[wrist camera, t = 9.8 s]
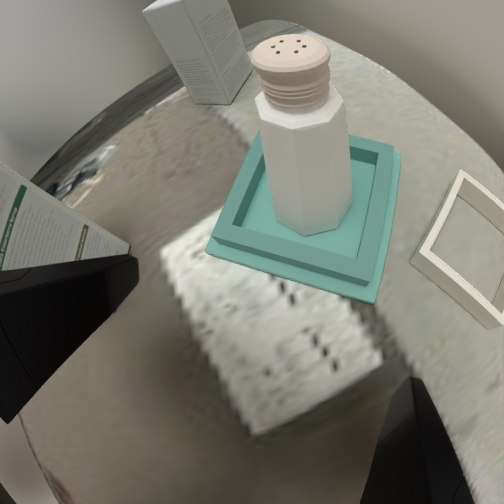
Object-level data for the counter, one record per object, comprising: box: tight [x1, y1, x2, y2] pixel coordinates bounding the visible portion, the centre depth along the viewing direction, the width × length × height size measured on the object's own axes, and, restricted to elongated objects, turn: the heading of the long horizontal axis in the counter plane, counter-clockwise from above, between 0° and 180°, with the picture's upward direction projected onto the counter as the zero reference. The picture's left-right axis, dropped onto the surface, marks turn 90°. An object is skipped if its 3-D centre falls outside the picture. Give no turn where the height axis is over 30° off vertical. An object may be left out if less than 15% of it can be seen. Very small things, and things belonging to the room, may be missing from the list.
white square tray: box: [409, 169, 504, 329], centre depth 13 cm, size 8×8×2 cm
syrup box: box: [0, 161, 130, 271], centre depth 14 cm, size 6×6×14 cm
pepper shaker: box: [250, 34, 353, 236], centre depth 13 cm, size 5×5×11 cm
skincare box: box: [142, 0, 252, 105], centre depth 19 cm, size 6×4×12 cm
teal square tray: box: [205, 131, 401, 305], centre depth 17 cm, size 11×11×2 cm
